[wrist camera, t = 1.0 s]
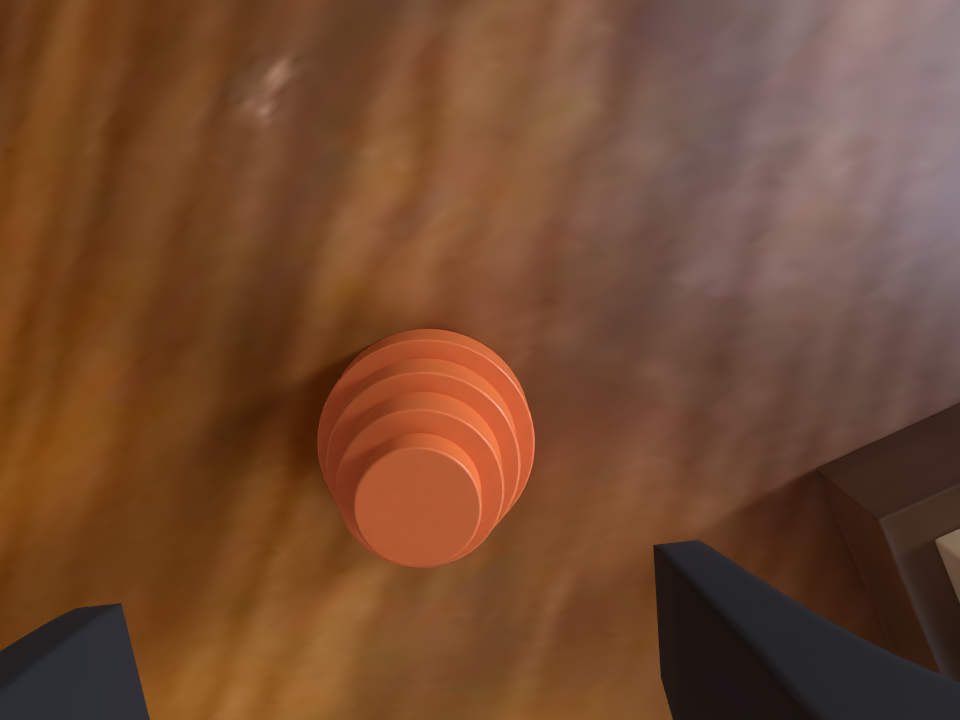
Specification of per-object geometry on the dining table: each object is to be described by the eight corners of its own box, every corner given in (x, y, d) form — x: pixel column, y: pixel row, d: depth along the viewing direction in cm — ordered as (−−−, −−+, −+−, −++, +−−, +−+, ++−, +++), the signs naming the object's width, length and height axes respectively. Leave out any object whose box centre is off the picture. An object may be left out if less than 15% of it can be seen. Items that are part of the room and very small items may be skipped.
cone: (539, 512, 22) (562, 616, 17) (342, 533, 22) (304, 644, 17) (519, 317, 21) (538, 363, 16) (312, 340, 21) (261, 393, 16)
